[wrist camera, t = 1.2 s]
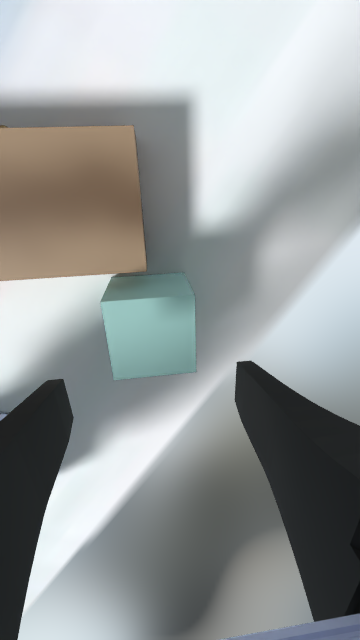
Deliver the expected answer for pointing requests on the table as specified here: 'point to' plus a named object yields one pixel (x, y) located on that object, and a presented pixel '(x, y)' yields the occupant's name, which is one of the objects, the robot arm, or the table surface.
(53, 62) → the table surface
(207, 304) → the table surface
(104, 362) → the table surface
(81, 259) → the pencil box
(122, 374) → the teal cube
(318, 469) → the robot arm
